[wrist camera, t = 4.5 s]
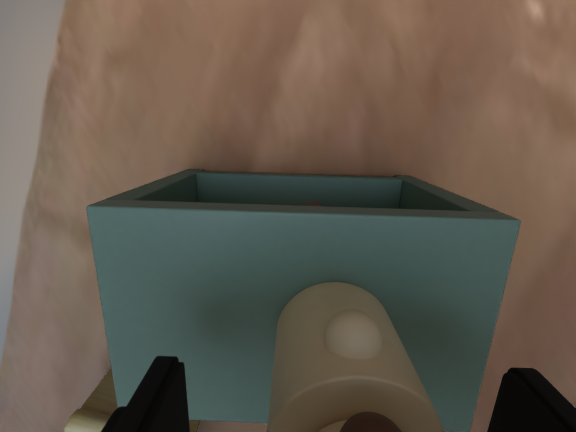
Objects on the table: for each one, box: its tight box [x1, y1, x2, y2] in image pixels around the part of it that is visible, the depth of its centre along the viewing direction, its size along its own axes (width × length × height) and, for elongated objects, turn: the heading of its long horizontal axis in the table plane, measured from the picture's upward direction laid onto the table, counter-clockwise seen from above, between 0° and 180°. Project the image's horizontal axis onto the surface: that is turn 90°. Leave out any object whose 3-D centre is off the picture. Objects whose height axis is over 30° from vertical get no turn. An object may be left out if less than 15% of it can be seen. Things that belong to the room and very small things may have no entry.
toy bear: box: [267, 282, 443, 432], centre depth 8 cm, size 5×6×9 cm
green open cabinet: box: [86, 169, 521, 432], centre depth 18 cm, size 16×10×11 cm, turn 88°
